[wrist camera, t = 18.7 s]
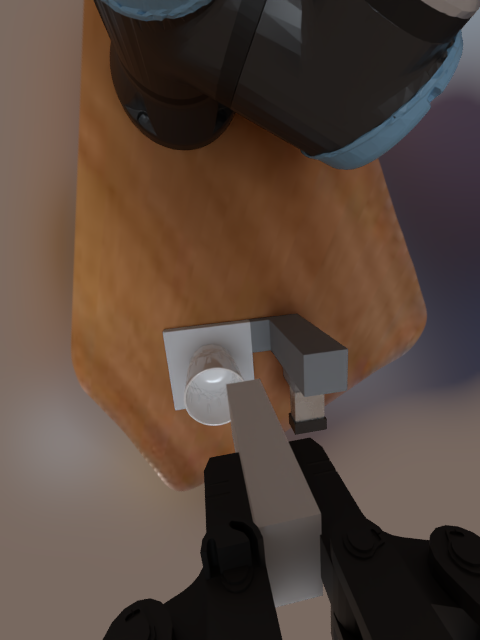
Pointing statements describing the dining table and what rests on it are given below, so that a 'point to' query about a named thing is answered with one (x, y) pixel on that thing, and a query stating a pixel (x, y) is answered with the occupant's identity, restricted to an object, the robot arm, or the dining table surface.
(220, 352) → the white cup
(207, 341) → the frame
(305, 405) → the handle
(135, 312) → the dining table surface
